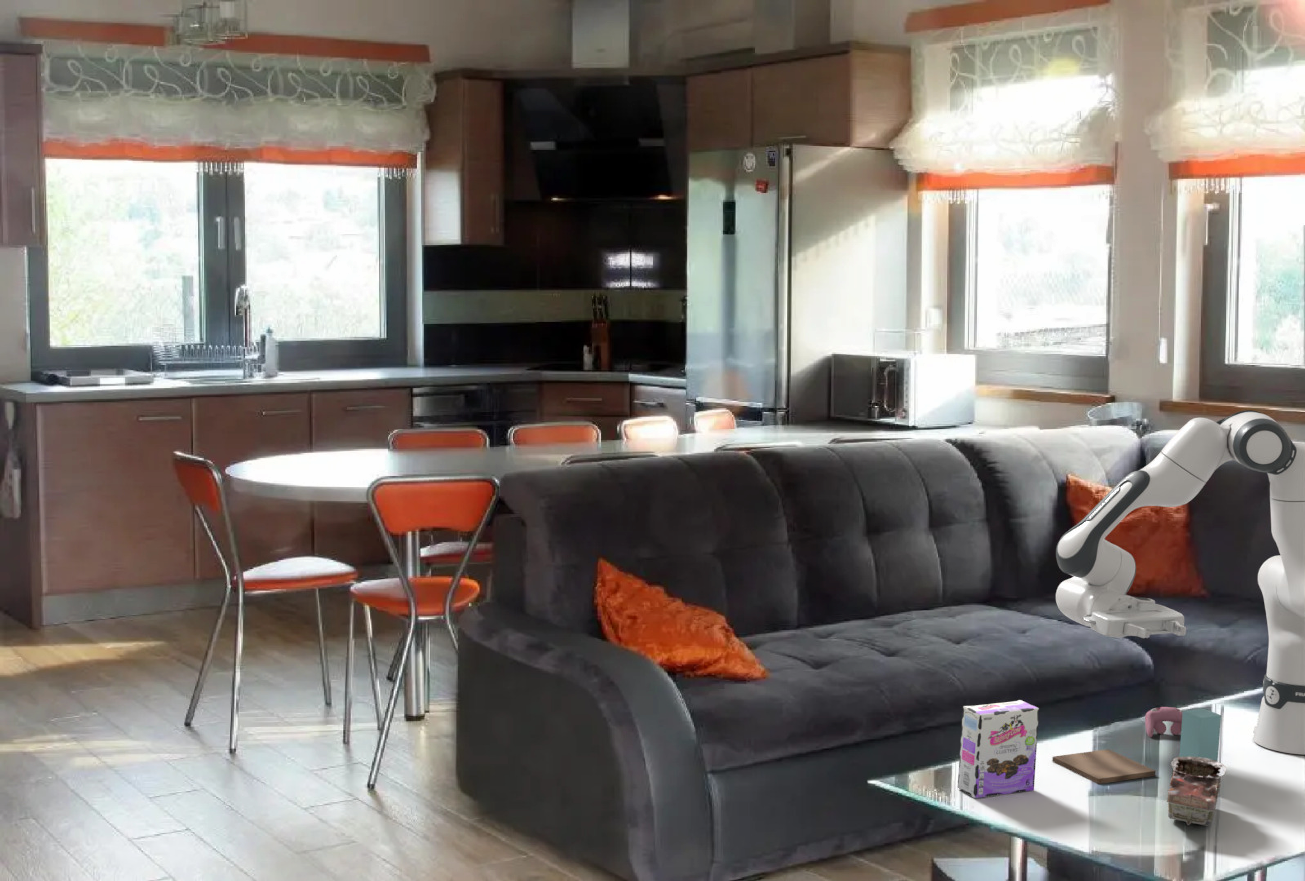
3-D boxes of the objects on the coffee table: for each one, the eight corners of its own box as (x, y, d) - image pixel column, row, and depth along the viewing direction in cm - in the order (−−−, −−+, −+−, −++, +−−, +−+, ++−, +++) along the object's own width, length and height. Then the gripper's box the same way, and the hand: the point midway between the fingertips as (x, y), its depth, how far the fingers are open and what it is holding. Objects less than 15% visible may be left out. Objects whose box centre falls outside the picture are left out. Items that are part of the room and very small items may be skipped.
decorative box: (1247, 812, 310) (1251, 762, 308) (1228, 847, 292) (1232, 793, 291) (1174, 799, 316) (1178, 749, 315) (1151, 831, 299) (1155, 779, 297)
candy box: (974, 799, 312) (979, 714, 310) (956, 789, 318) (961, 705, 315) (1035, 791, 318) (1040, 707, 316) (1016, 781, 323) (1021, 698, 321)
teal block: (1197, 777, 329) (1202, 708, 327) (1215, 785, 324) (1221, 715, 322) (1177, 780, 327) (1182, 710, 325) (1195, 788, 322) (1201, 717, 320)
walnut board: (1107, 753, 341) (1108, 749, 341) (1155, 775, 329) (1155, 770, 329) (1052, 761, 335) (1052, 756, 335) (1098, 783, 323) (1098, 778, 323)
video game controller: (1190, 742, 356) (1189, 709, 358) (1195, 739, 351) (1194, 706, 354) (1143, 739, 357) (1142, 707, 359) (1147, 736, 352) (1146, 703, 355)
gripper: (1079, 602, 339) (1127, 619, 327) (1156, 598, 348) (1205, 615, 336) (1076, 632, 340) (1123, 651, 328) (1152, 627, 349) (1201, 645, 337)
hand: (1165, 632), depth 332 cm, fingers open, 8 cm apart
